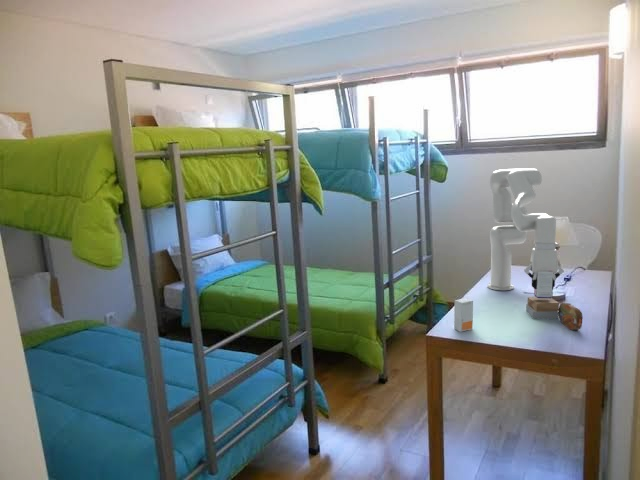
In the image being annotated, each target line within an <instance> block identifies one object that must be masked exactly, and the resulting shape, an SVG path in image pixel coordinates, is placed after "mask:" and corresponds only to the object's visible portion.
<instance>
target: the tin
mask: <svg viewBox="0 0 640 480" xmlns="http://www.w3.org/2000/svg"><path fill="white" fill-rule="evenodd" d="M558 314H559V316H558V320H559V321H560V322H561V324H562V325H564V326H565V327H566V328H568V329H569V330H571V331H573V330H574V331H575V330H577V331H578V330H580V329H581V328H582V326H583V317H584V316H583V314H582V311H581V309H580V308H577V307H576V306H574V305H572V303H569V302H568V303H567V302H562V303H559V310H558Z"/></svg>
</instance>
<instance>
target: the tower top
mask: <svg viewBox="0 0 640 480" xmlns="http://www.w3.org/2000/svg"><path fill="white" fill-rule="evenodd" d="M527 305H528V306H529V307H531V308H532V309H533V310H535V311H536V312H547V311H558V310H559V306H560V302H558V301H557V300H556V299H554V298H537V297H536V296H528V297H527Z"/></svg>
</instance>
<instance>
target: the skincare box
mask: <svg viewBox="0 0 640 480" xmlns="http://www.w3.org/2000/svg"><path fill="white" fill-rule="evenodd" d="M453 310H454V311H453V312H454V313H453V315H454V316H453V317H454V319H453V320H454V321H453V328H454V329H455V330H456V331H459V332H460V333H461V332H465V331H470V330H473V326H474V323H473V321H474V320H473V318H474V300H473V299H469V298H467V297H465V298H460V299H454V309H453Z"/></svg>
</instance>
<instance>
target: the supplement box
mask: <svg viewBox="0 0 640 480" xmlns="http://www.w3.org/2000/svg"><path fill="white" fill-rule="evenodd" d="M536 280H537V289H534V288H533V289H534V290H533V291H534V293H533V295H534V297H537V298H552V295H553V289H552V280H553V272H552V271H538V273H537V277H536ZM552 299H553V298H552Z"/></svg>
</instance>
